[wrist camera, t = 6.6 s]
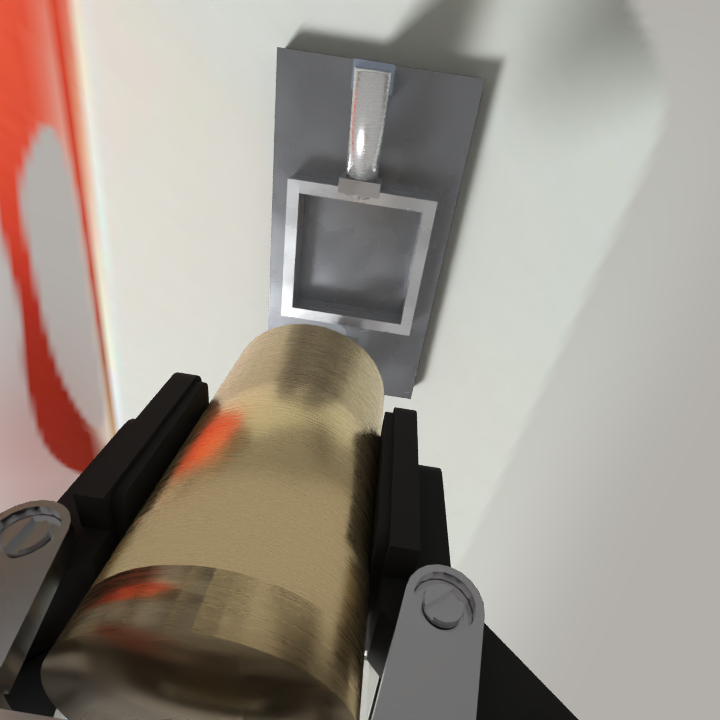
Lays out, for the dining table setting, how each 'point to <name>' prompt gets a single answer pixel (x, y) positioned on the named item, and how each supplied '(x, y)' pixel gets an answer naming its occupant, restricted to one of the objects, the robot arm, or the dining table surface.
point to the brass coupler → (243, 554)
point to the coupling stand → (365, 199)
